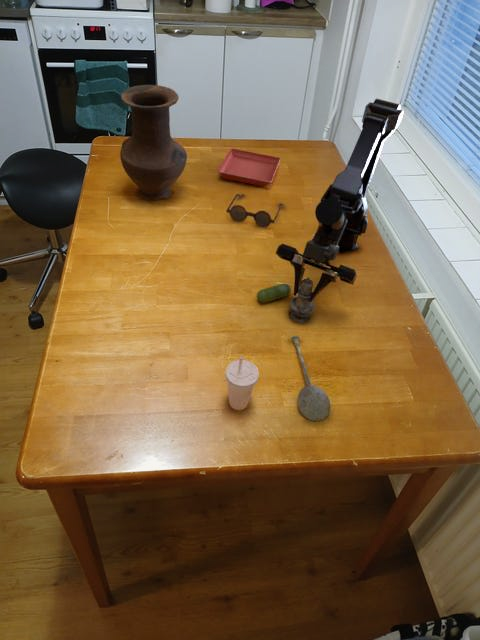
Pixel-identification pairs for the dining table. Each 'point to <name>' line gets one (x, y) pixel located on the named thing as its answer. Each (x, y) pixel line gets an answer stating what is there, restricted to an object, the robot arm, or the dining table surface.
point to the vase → (152, 142)
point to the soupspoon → (311, 395)
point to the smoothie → (241, 382)
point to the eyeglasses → (250, 214)
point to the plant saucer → (249, 167)
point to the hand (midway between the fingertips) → (302, 298)
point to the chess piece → (302, 302)
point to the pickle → (273, 292)
